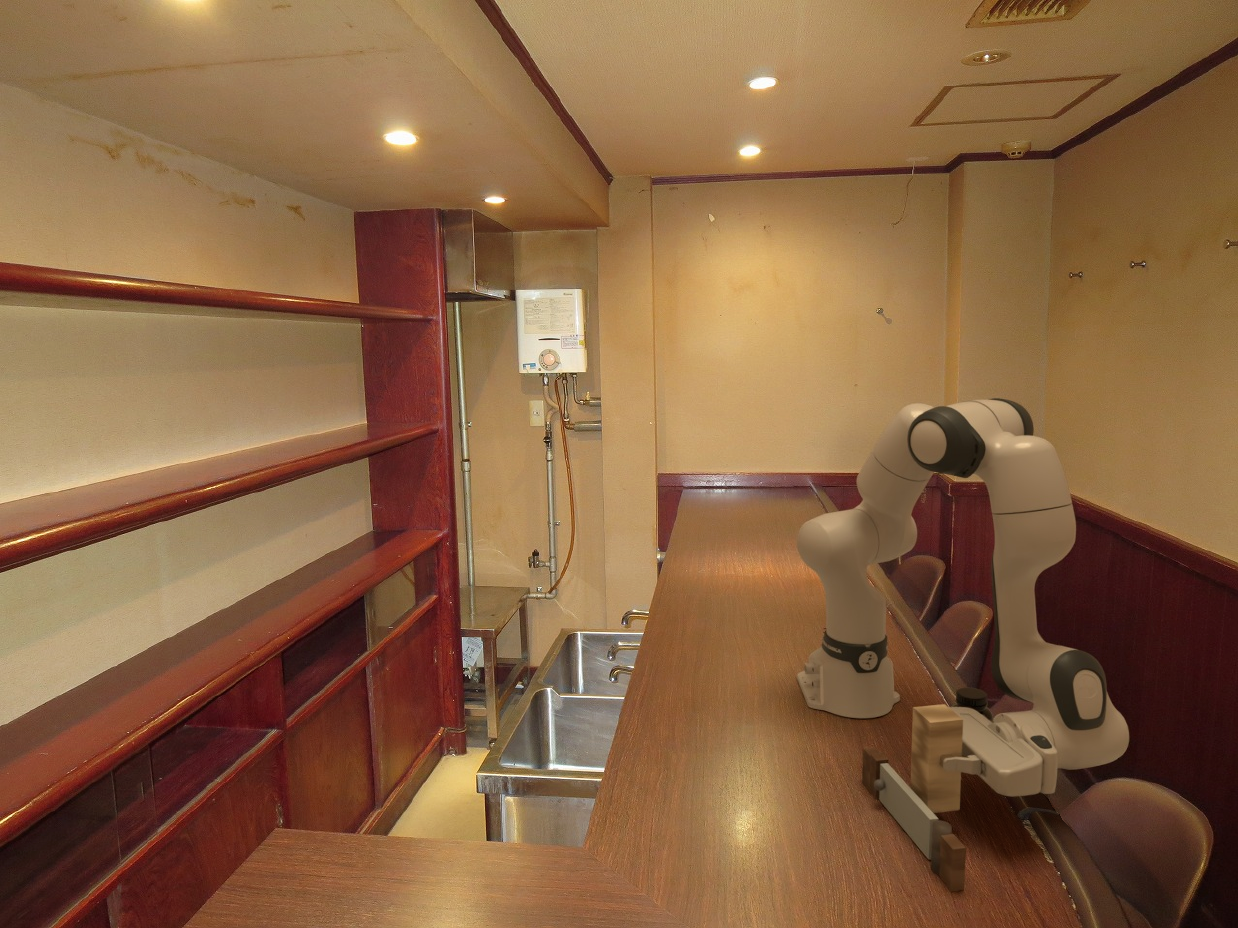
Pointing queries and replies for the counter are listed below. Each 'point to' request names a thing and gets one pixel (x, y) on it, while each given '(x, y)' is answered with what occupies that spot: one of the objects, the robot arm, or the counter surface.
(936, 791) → the beech block
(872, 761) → the gate frame
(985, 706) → the supplement bottle
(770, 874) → the counter surface
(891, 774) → the gate
